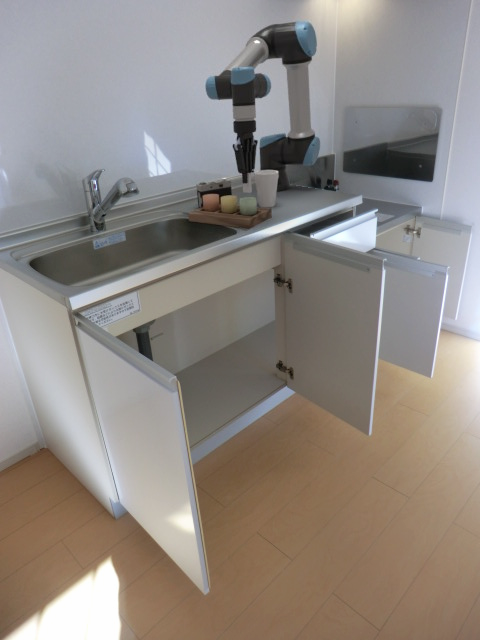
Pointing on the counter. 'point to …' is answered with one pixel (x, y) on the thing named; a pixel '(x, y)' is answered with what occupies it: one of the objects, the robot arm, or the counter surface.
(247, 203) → the pale green cylinder
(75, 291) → the counter surface
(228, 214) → the walnut board
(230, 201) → the yellow short cylinder
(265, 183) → the foam cup
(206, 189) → the camera
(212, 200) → the pink short cylinder
